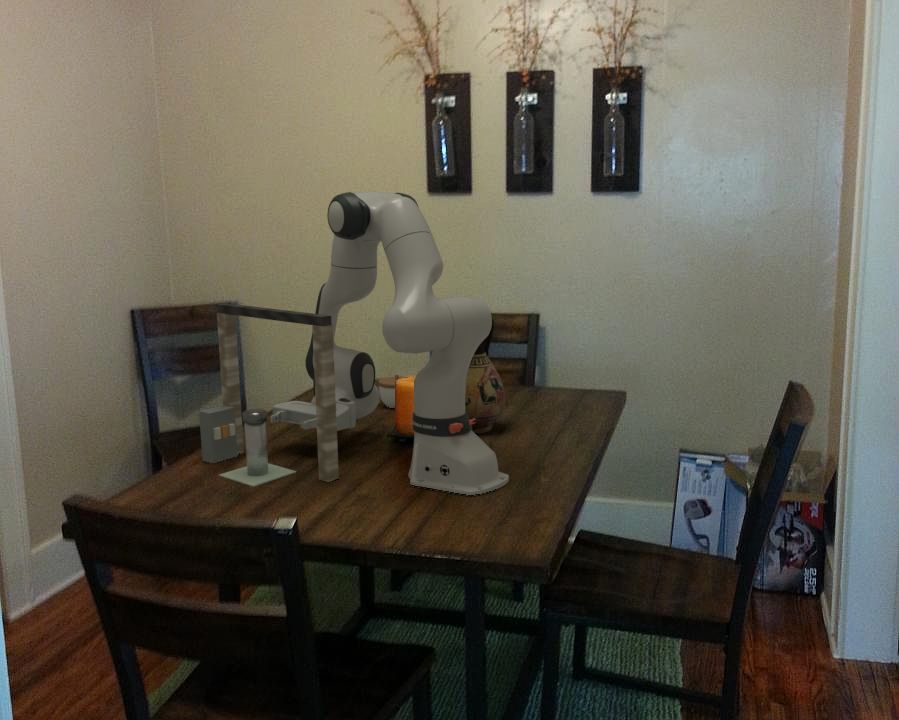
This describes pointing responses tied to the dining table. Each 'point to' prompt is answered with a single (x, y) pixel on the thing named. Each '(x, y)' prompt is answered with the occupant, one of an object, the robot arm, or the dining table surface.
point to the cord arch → (321, 372)
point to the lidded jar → (388, 390)
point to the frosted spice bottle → (256, 441)
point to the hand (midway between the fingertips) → (287, 422)
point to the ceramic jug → (483, 389)
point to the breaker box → (218, 433)
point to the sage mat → (244, 478)
